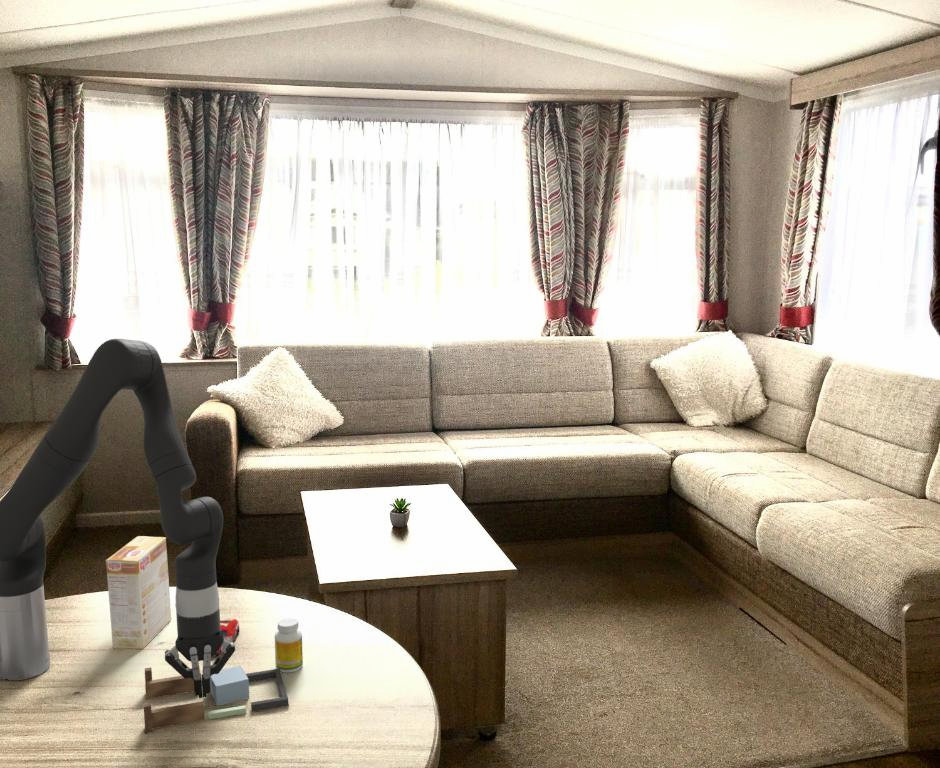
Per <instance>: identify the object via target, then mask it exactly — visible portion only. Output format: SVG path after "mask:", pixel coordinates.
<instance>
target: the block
mask: <svg viewBox="0 0 940 768" xmlns="http://www.w3.org/2000/svg"><path fill="white" fill-rule="evenodd" d="M246 674H247V673H246V672H245V670H244V668H243V667H242V666H241V665H238V666H232V667H228V668H222V670H221V671H220V672H219V673H218V674H213V675H212V676H211V677H210V693H209V694H211V697H212V699H213V700H214V703H215V705H216V707H218V706H220V705H226V704H230V703H234V702H238V701H239V702H240V701H241V700H246V699H249V698H250V682H249V679H248V677H247V676H246Z"/></svg>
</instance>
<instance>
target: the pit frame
mask: <svg viewBox="0 0 940 768" xmlns="http://www.w3.org/2000/svg"><path fill="white" fill-rule="evenodd" d="M245 674H246V676H247V677H248V679H249V683H253V682H261V681H265V680H266V681H268V680H273V679H275V682H276V685H277V689H278V692H279V696H280V697H276V698H269V699H263V700H257V701H252V702H250V708H251V713H255V712H256V713H257V712H261V711H268V710H273V709H278V708H286V707H290V706H289V702H290V701H289V696H288V693H287V689H286V686H285V683H284V678H283V675H282V672H281V671H280V669H276V668H274V669H267V670H261V671H255V672H254V671H253V672H250V673H249V672H248V673H245Z"/></svg>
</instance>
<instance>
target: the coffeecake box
mask: <svg viewBox="0 0 940 768" xmlns="http://www.w3.org/2000/svg"><path fill="white" fill-rule="evenodd" d="M167 549H168V548H167V537H166V536H165V537H164V536H145V535H142V536H141V535H138V536H136V537H135V538H133V539H132V540H131V541H129V542H128V543H126V544H125V545H124V546H123V547H121V548H120V549H118V551H116V552H115V553H114V554H112V555H111V556H110V557H108V558H107V559H106V560H105V565H106V566H105V567H106V576H107V577H106V578H107V588H108V589H107V590H108V592H107V593H108V601H109V602H108V603H109V613H110V614H109V615H110V626H111V627H110V628H111V630H110V631H111V639H112V641H111V643H112V648H113V649H134V650H135V649H136V650H143V649H144V648H145V647H146V646H147V645H149V643H150V642H151V641H152V640H153V639H154V638H155V637H156V636H157V634H159V633H160V632H161V631H162V630H163V628H165V626H166V625H168V623H169V622H171V620H172V614H171V613H172V611H171V610H172V609H171V598H170V597H171V596H170V595H171V594H170V583H169V582H170V581H169V566H168V565H169V564H168V553H167V552H168V551H167Z"/></svg>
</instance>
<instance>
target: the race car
mask: <svg viewBox="0 0 940 768" xmlns="http://www.w3.org/2000/svg"><path fill="white" fill-rule="evenodd" d="M220 629H221V632H222V634H223V636H224V639H225V640H227V641H229V642H230V641H233V642H234V643H235V641H236V639H237V638H238V637H239V634H240V623H239V621H238V619H235V618H223V619H220ZM221 647H222V645H221V646H220V648H219V649H218V651H217V652H216V654H215V655H214V656H219V655H220V653H221V652H222V651H221Z"/></svg>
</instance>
